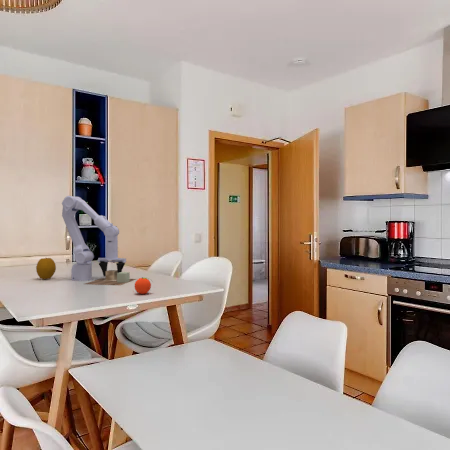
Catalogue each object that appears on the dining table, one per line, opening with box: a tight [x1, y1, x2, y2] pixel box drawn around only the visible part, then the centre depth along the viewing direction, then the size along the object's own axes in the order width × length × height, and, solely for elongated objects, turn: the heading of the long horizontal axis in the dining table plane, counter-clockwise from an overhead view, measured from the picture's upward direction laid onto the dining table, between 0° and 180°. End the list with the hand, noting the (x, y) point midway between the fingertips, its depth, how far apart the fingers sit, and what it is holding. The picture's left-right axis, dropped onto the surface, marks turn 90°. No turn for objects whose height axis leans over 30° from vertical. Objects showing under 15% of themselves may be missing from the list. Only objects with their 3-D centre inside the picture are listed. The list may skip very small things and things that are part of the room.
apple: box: [35, 257, 57, 280], centre depth 216 cm, size 10×10×12 cm
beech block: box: [105, 269, 117, 280], centre depth 207 cm, size 4×4×4 cm
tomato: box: [134, 277, 154, 295], centre depth 175 cm, size 8×7×7 cm
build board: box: [84, 277, 137, 286], centre depth 202 cm, size 19×20×1 cm
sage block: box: [117, 271, 131, 284], centre depth 201 cm, size 4×4×4 cm
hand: (112, 276), depth 208 cm, fingers open, 7 cm apart
